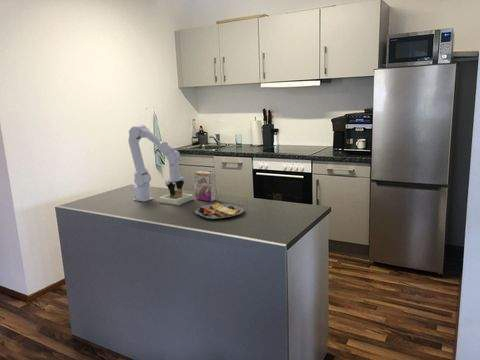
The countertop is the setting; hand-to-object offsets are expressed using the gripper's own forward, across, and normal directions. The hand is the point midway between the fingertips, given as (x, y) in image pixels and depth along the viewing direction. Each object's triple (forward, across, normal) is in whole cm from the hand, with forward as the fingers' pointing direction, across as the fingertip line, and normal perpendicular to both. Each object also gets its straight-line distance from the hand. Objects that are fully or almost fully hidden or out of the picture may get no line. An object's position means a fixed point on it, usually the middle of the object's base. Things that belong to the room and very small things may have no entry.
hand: (176, 194), depth 232 cm
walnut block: (+2, 0, 0) cm, 2 cm away
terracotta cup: (+4, +16, -5) cm, 17 cm away
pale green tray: (+4, 0, 0) cm, 4 cm away
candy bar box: (+4, +10, -14) cm, 18 cm away
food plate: (+5, -9, -37) cm, 38 cm away
